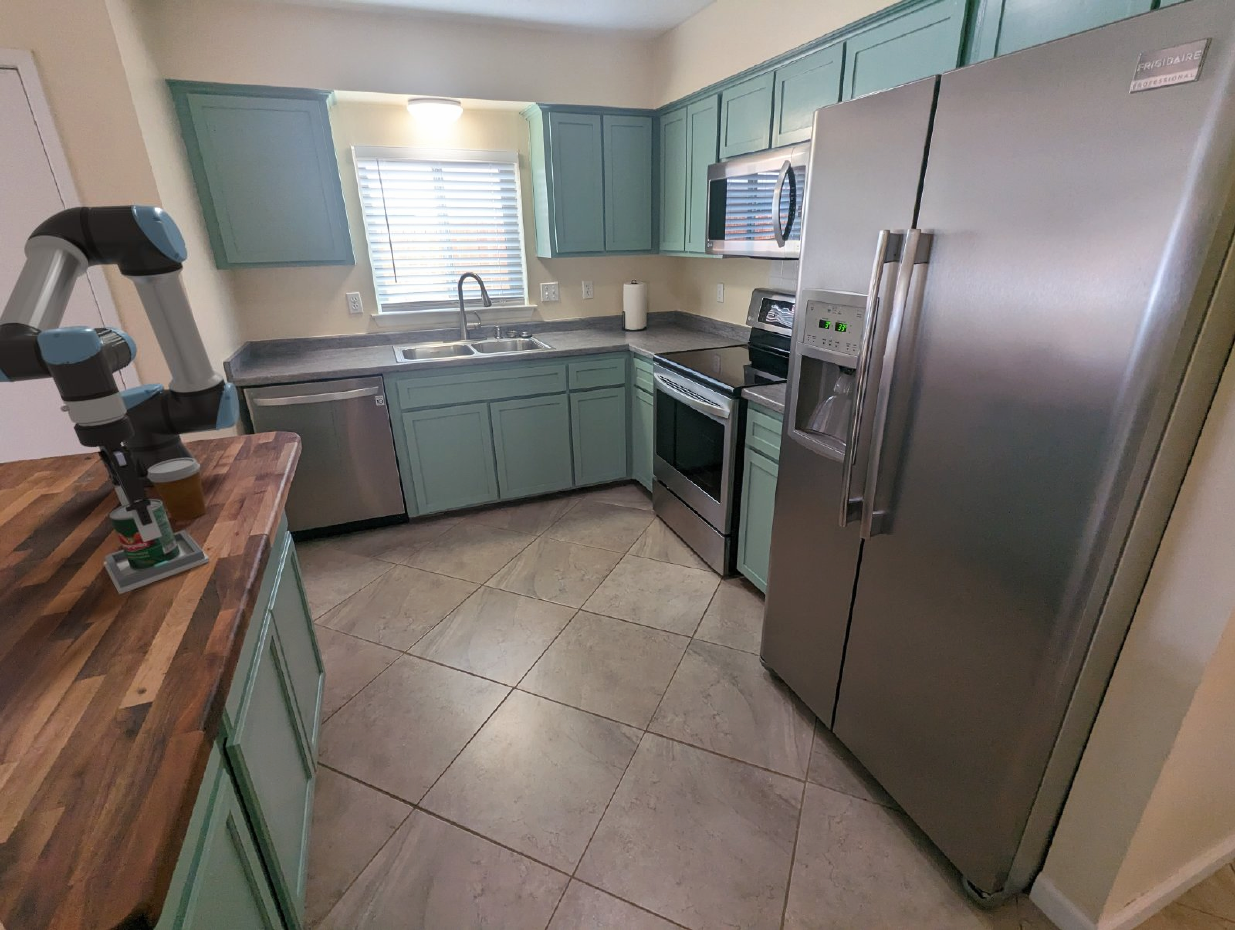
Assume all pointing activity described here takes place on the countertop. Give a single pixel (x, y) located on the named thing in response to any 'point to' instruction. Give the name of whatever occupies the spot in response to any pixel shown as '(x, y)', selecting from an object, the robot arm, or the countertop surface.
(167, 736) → the countertop surface
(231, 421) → the robot arm
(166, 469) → the disposable coffee cup
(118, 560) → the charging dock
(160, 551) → the canned tomato
